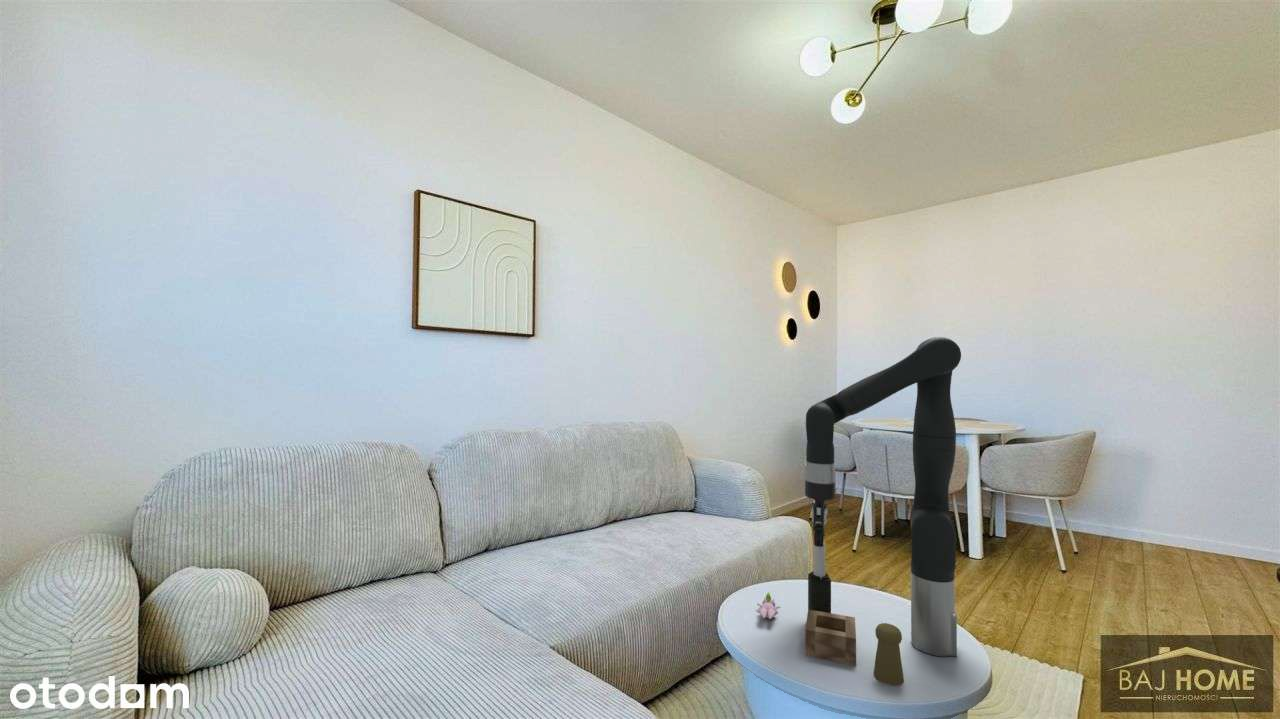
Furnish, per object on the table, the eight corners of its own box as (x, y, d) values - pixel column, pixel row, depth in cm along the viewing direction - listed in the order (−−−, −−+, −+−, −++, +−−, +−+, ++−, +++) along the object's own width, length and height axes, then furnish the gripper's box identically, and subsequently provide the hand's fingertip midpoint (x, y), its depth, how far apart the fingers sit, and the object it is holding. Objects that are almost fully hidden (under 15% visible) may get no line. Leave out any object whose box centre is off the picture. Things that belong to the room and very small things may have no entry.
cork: (868, 669, 114) (867, 619, 114) (893, 668, 115) (893, 619, 115) (883, 686, 108) (883, 633, 108) (910, 685, 108) (910, 632, 109)
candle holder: (855, 642, 126) (854, 617, 126) (856, 665, 116) (856, 638, 116) (808, 633, 130) (808, 609, 130) (805, 655, 120) (805, 629, 120)
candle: (826, 622, 136) (826, 527, 136) (832, 631, 131) (832, 533, 131) (807, 620, 136) (807, 526, 137) (811, 630, 131) (811, 532, 132)
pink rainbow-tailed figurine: (757, 608, 147) (754, 623, 132) (758, 586, 148) (754, 599, 134) (780, 611, 145) (779, 627, 131) (780, 588, 146) (779, 602, 132)
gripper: (834, 486, 126) (834, 552, 126) (835, 475, 140) (835, 535, 139) (803, 483, 129) (802, 547, 129) (806, 473, 142) (806, 531, 142)
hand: (819, 541), depth 134 cm, fingers open, 8 cm apart
